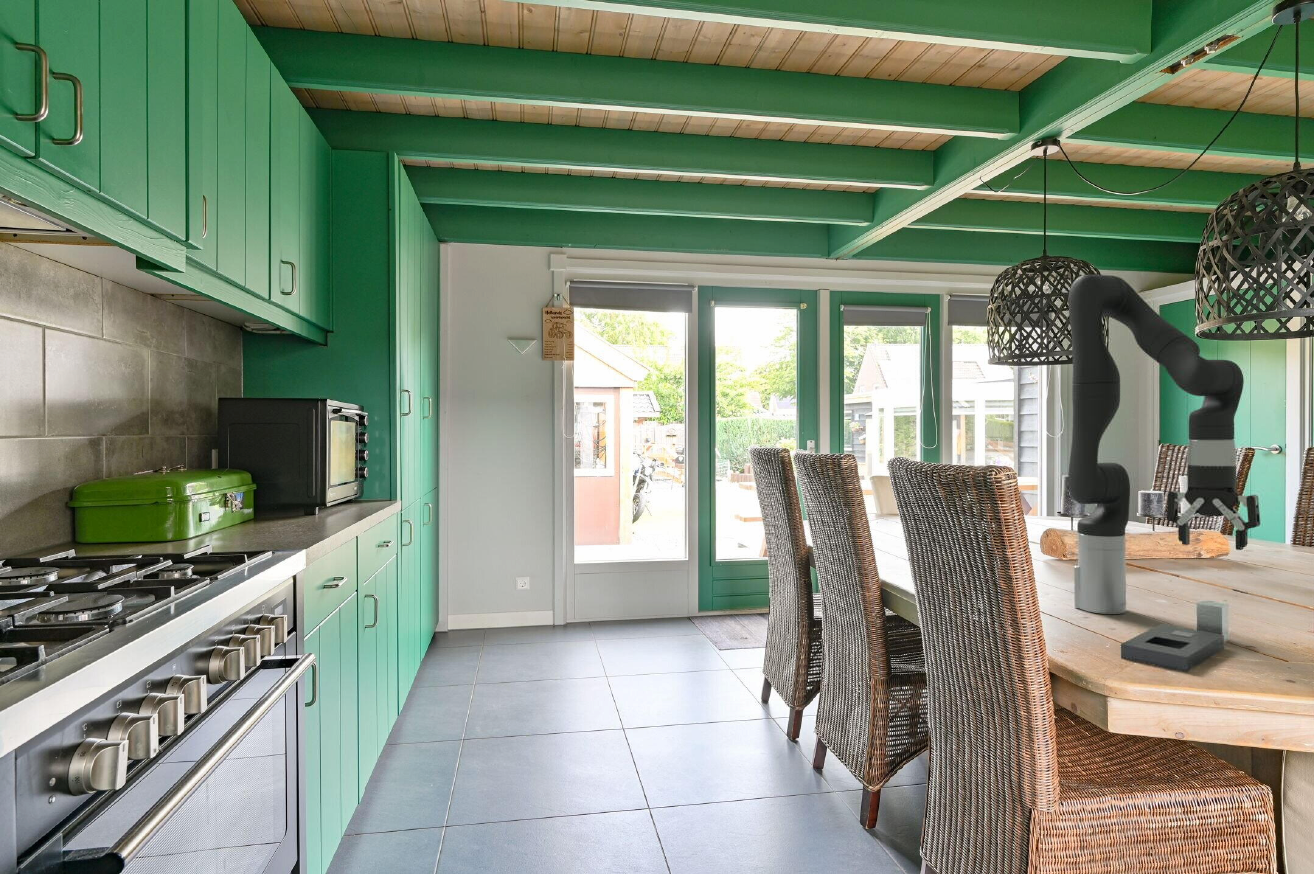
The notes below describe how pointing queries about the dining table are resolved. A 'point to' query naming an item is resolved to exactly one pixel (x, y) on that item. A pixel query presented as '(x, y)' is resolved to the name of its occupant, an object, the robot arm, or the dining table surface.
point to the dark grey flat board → (1172, 647)
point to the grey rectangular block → (1213, 618)
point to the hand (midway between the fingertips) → (1211, 546)
